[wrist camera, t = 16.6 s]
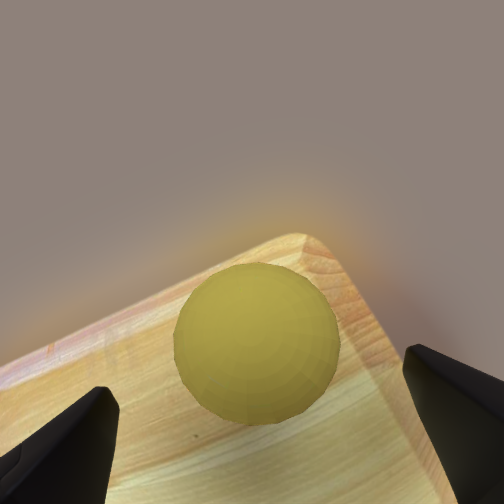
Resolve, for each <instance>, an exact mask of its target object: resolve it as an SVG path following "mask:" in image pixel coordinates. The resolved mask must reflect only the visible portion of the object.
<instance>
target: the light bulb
mask: <svg viewBox="0 0 504 504" xmlns="http://www.w3.org/2000/svg"><path fill="white" fill-rule="evenodd" d="M340 345H341V344H340V338H339V332H338V325H337V320H336V317H335V315H334V313H333V311H332V309H331V307H330V305H329V303H328V301H327V299H326V298H325V296H324V295H323V294H322V293H321V292H320V291H319V290H318V289H317V288H316V287H315V286H314V285H313V284H312V283H311V282H310V281H309V280H308V279H307V278H305V277H303V276H301V275H299V274H297V273H295V272H293V271H291V270H289V269H287V268H285V267H283V266H277V265H271V264H266V263H260V262H258V263H249V264H240V265H234V266H232V267H229V268H227V269H225V270H222V271H220V272H218V273H215V274H213V275H212V276H210V277H209V278H208V279H207V280H206V281H204V282H203V283H202V284H201V285H199V286H198V287H197V288H196V289H195V290H194V291H193V292H192V294H191V295H190V297H189V298H188V300H187V301H186V303H185V304H184V306H183V307H182V309H181V311H180V314H179V317H178V321H177V324H176V328H175V331H174V360H175V363H176V366H177V368H178V371H179V374H180V376H181V379H182V382H183V384H184V385H185V386H186V388H187V389H188V390H189V391H190V393H191V394H192V395H193V396H194V398H195V399H196V400H197V401H198V402H199V404H200V405H201V406H203V407H204V408H206V409H208V410H209V411H211V412H212V413H214V414H215V415H217V416H219V417H220V418H222V419H224V420H228V421H232V422H236V423H240V424H244V425H249V426H254V425H266V424H276V423H280V422H282V421H284V420H287V419H289V418H291V417H294V416H296V415H298V414H300V413H303V412H304V411H305V410H306V409H307V408H308V407H310V406H311V405H312V404H313V403H314V402H315V401H316V400H317V399H318V398H319V397H320V396H322V395H323V393H324V392H325V390H326V388H327V386H328V385H329V383H330V381H331V379H332V377H333V375H334V374H335V372H336V368H337V363H338V357H339V351H340Z"/></svg>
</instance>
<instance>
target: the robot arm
mask: <svg viewBox="0 0 504 504" xmlns="http://www.w3.org/2000/svg"><path fill="white" fill-rule="evenodd" d="M403 375H404V378H405V380H406V383H407V386H408V388H409V391H410V394H411V396H412V399H413V402H414V405H415V407H416V410H417V413H418V415H419V417H420V419H421V421H422V423H423V425H424V427H425V429H426V432H427V434H428V436H429V438H430V440H431V442H432V444H433V446H434V448H435V451H436V453H437V455H438V457H439V459H440V462H441V464H442V466H443V468H444V471H445V473H446V475H447V478H448V480H449V482H450V485H451V487H452V489H453V492H454V494H455V497H456V499H457V502H458V504H504V381H502V380H499V379H497V378H495V377H493V376H491V375H488V374H486V373H484V372H481V371H479V370H477V369H474V368H472V367H470V366H468V365H466V364H463V363H461V362H459V361H457V360H454V359H452V358H450V357H448V356H446V355H443V354H441V353H439V352H437V351H434V350H432V349H430V348H428V347H425V346H423V345H421V344H416V345H413V346H410V347H408V348H407V349H406V352H405V358H404V363H403ZM119 413H120V409H119V405H118V403H117V401H116V400H115V398H114V396H113V394H112V393H111V391H110V389H109V388H108V387H99V386H98V387H95V388H93V389H92V390H91V391H89V392H88V393H87V394H85V395H84V396H83V397H81V398H80V399H79V400H77V401H76V402H75V403H74V404H72V405H71V406H70V407H68V408H67V409H66V410H64V411H63V412H62V413H60V414H59V415H58V416H56V417H55V418H54V419H52V420H51V421H50V422H48V423H47V424H46V425H44V426H43V427H42V428H40V429H39V430H38V431H36V432H35V433H34V434H32V435H31V436H30V437H28V438H27V439H26V440H24V441H23V442H22V443H20V444H19V445H17V446H16V447H15V448H13V449H12V450H11V451H9V452H8V453H6V454H5V455H3V456H2V457H0V504H105V499H106V493H107V488H108V482H109V477H110V472H111V467H112V462H113V458H114V452H115V446H116V437H117V428H118V420H119Z"/></svg>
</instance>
